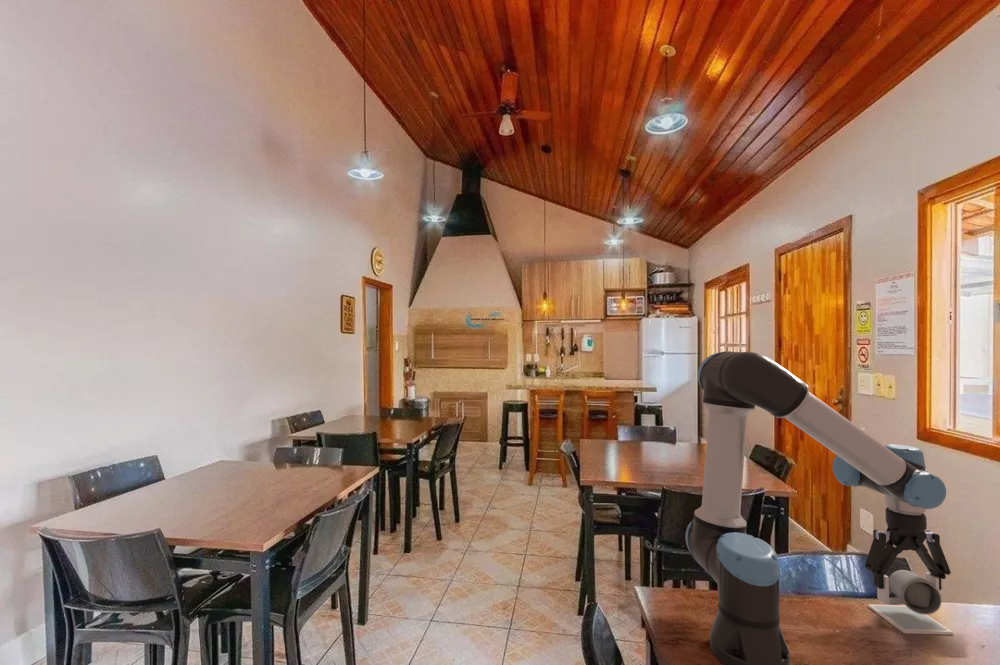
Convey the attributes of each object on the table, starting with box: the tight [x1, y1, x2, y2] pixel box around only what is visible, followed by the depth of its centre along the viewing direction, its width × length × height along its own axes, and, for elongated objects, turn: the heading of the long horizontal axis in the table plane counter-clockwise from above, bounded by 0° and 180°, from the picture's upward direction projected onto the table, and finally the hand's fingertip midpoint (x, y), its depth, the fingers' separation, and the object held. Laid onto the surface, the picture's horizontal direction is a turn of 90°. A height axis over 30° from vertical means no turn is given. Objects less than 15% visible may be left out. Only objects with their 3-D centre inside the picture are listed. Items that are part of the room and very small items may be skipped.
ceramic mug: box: [889, 569, 942, 616], centre depth 112 cm, size 11×8×8 cm
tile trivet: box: [867, 603, 954, 636], centre depth 111 cm, size 11×11×1 cm
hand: (908, 602), depth 112 cm, fingers closed on ceramic mug, 11 cm apart
